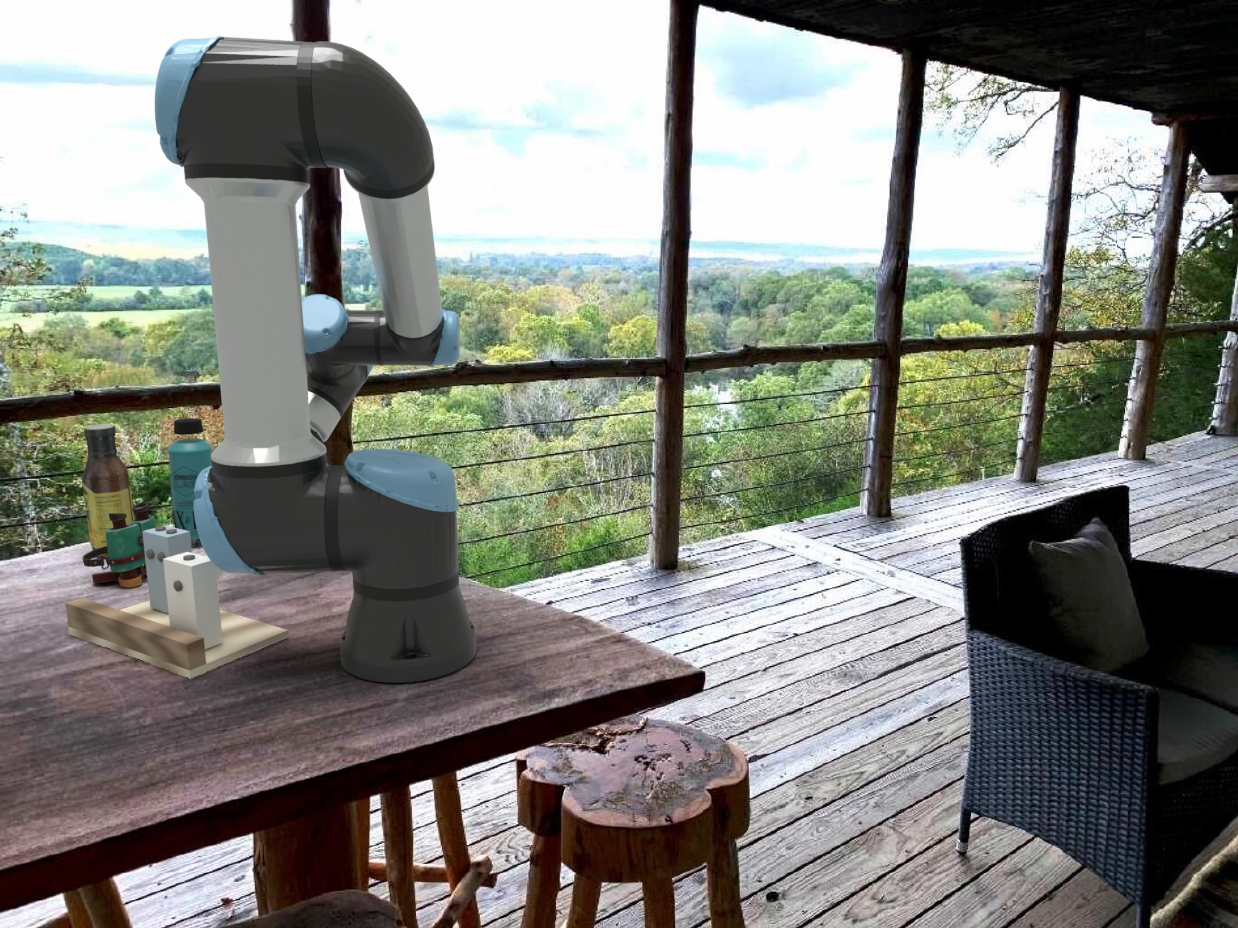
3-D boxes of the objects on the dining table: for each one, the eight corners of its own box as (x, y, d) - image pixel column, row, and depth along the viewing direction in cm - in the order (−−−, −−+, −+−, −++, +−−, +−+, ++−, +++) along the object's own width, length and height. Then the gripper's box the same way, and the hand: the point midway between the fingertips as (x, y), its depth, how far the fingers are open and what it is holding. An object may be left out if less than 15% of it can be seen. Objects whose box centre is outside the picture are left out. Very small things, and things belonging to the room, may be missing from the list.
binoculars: (105, 501, 132) (165, 499, 129) (119, 571, 134) (178, 570, 131) (56, 517, 123) (119, 515, 121) (72, 592, 125) (134, 590, 123)
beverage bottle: (176, 539, 146) (164, 416, 142) (221, 535, 149) (210, 414, 145) (174, 551, 140) (161, 423, 136) (221, 546, 143) (210, 421, 139)
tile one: (222, 642, 104) (215, 556, 102) (196, 652, 101) (188, 564, 99) (195, 633, 107) (187, 549, 104) (169, 643, 104) (160, 556, 102)
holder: (288, 638, 109) (286, 606, 108) (190, 679, 98) (187, 644, 97) (169, 601, 120) (166, 572, 119) (69, 634, 109) (65, 602, 108)
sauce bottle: (104, 546, 142) (89, 421, 138) (145, 546, 143) (132, 421, 138) (82, 560, 136) (66, 429, 132) (125, 559, 136) (111, 429, 132)
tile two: (197, 607, 114) (189, 529, 112) (172, 616, 112) (164, 535, 109) (172, 600, 117) (164, 523, 115) (148, 608, 114) (139, 529, 112)
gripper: (349, 450, 128) (258, 598, 118) (286, 440, 135) (194, 579, 124) (317, 417, 122) (218, 570, 112) (253, 409, 129) (154, 552, 118)
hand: (206, 575), depth 118 cm, fingers closed
